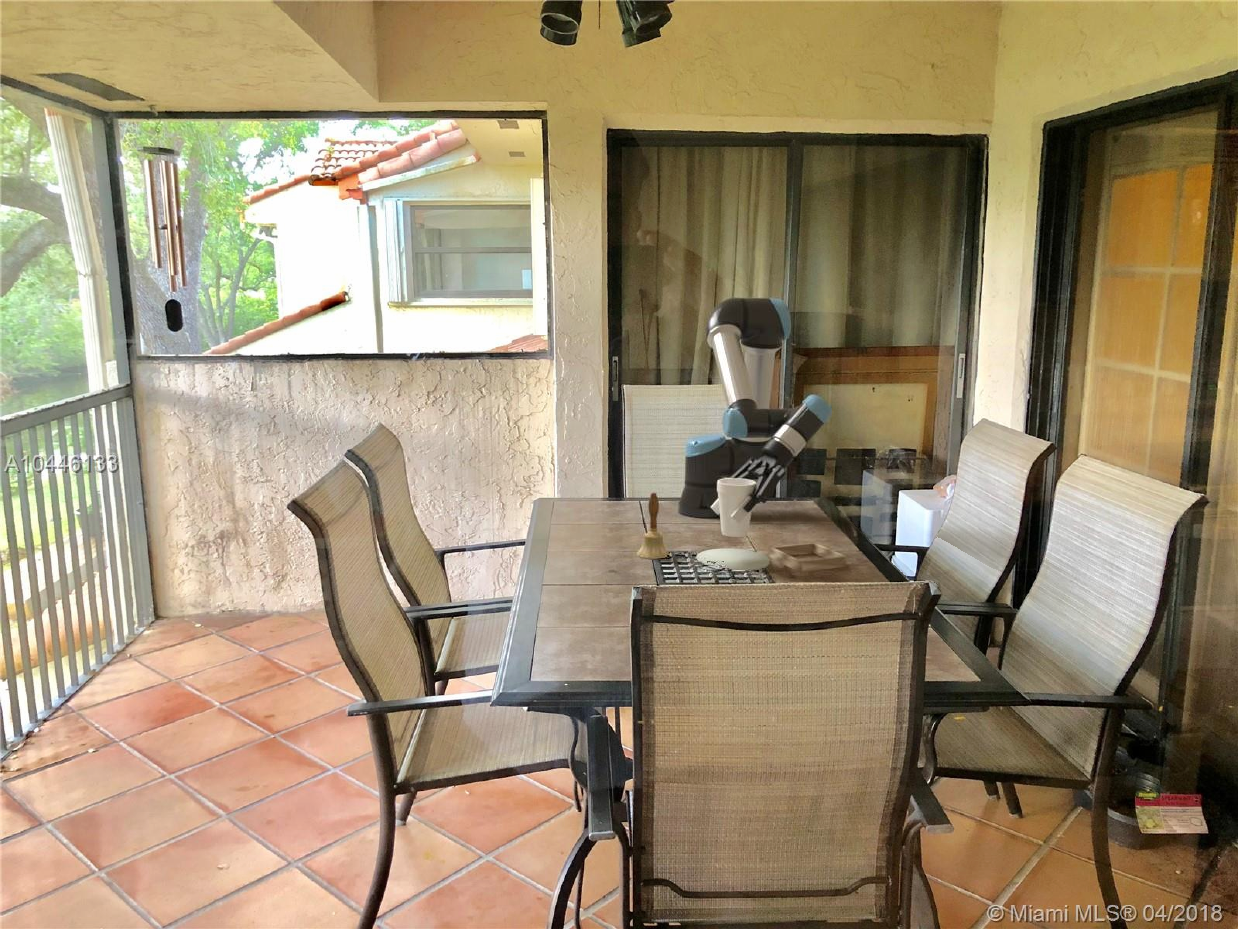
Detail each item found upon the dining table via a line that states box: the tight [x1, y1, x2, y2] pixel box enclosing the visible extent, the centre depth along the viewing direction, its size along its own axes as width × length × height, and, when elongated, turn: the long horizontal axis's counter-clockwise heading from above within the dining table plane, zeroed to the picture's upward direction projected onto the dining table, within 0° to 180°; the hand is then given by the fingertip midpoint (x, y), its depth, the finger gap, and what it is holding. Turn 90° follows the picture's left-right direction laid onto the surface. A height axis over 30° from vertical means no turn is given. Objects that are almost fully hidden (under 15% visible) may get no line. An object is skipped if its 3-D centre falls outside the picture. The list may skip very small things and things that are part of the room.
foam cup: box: [717, 478, 757, 538], centre depth 221 cm, size 10×9×13 cm
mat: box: [695, 548, 771, 571], centre depth 224 cm, size 18×18×1 cm
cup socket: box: [768, 542, 848, 573], centre depth 224 cm, size 14×14×2 cm
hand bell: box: [636, 492, 670, 561], centre depth 226 cm, size 8×8×16 cm
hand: (724, 515), depth 220 cm, fingers closed on foam cup, 9 cm apart
